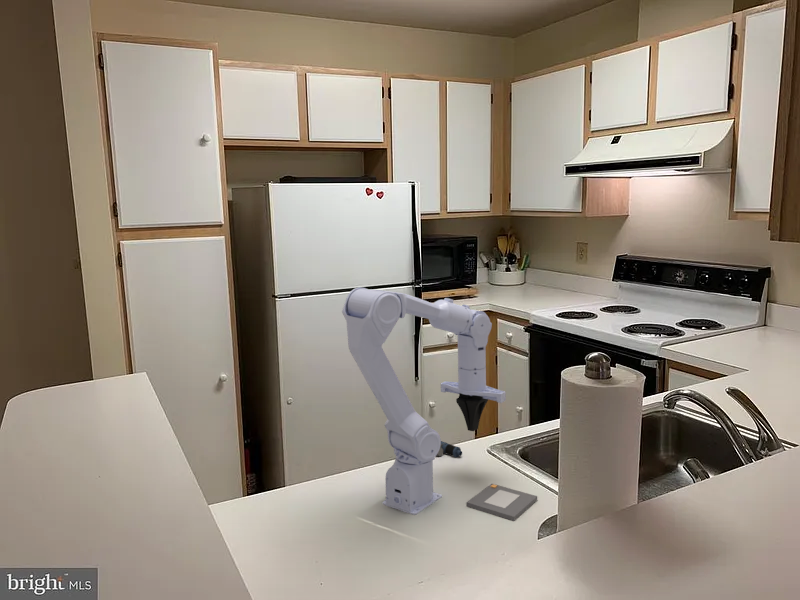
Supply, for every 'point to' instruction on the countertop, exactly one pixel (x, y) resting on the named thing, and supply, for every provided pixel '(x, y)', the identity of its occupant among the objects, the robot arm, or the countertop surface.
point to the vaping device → (449, 450)
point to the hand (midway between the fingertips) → (472, 429)
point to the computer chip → (502, 501)
